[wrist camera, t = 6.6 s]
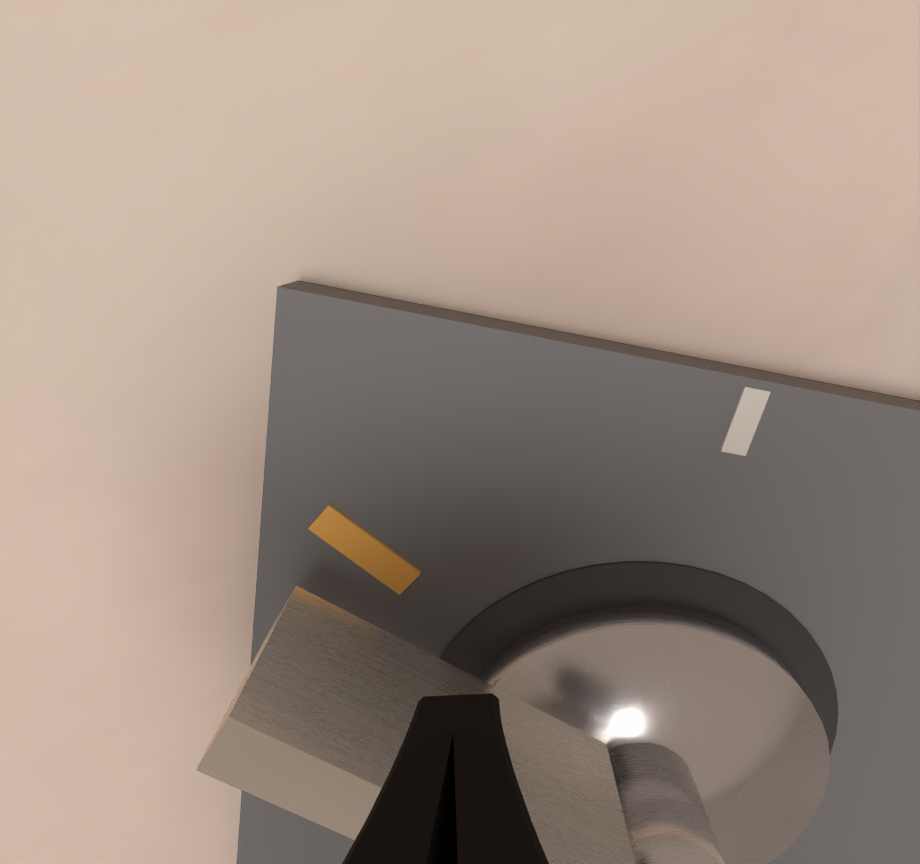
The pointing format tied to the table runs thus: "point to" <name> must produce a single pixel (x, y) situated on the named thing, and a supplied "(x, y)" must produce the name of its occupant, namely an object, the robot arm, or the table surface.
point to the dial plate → (597, 522)
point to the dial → (547, 730)
